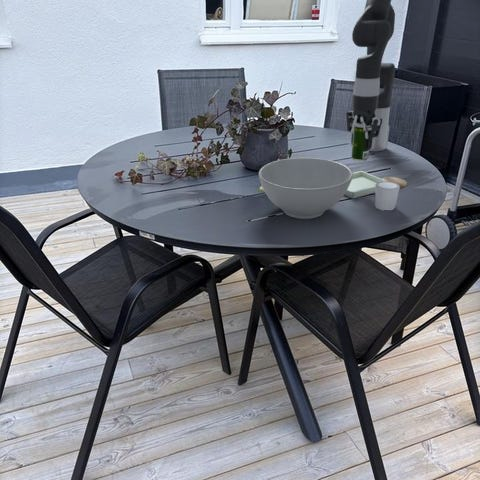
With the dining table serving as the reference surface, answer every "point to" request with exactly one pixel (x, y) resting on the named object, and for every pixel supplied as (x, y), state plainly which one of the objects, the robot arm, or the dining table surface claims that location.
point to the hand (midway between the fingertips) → (360, 147)
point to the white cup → (386, 195)
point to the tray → (362, 184)
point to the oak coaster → (396, 181)
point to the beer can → (359, 143)
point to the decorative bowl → (305, 185)
